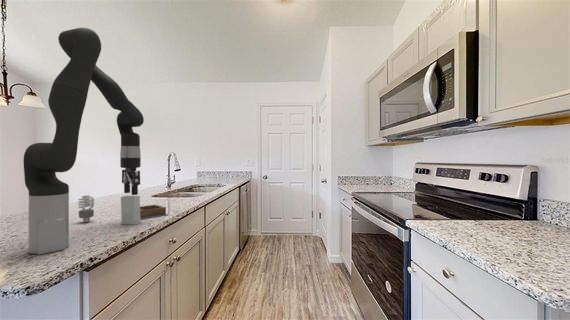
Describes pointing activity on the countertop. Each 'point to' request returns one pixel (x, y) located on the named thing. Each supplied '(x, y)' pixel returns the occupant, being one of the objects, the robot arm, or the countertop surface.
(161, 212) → the brown wooden tray
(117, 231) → the countertop surface
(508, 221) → the countertop surface
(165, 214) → the mat
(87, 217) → the light bulb
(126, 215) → the skincare box
